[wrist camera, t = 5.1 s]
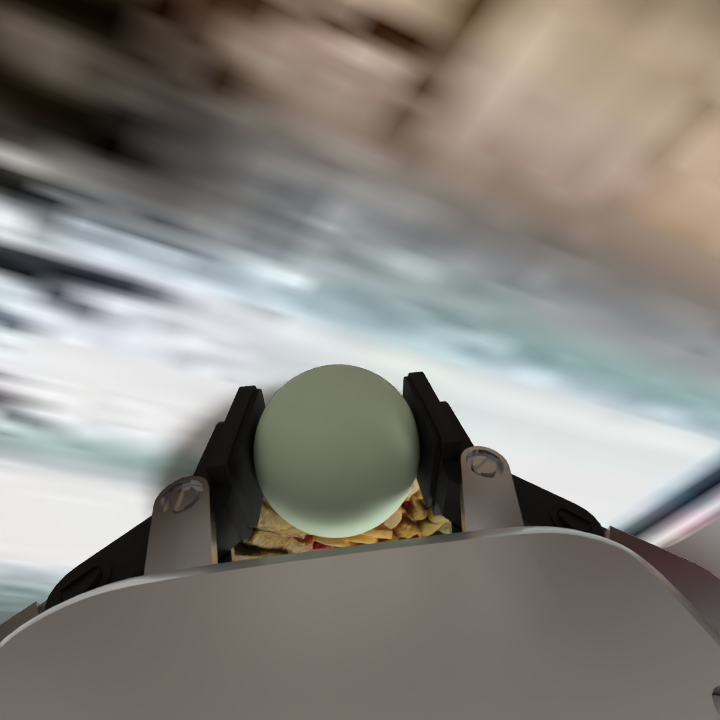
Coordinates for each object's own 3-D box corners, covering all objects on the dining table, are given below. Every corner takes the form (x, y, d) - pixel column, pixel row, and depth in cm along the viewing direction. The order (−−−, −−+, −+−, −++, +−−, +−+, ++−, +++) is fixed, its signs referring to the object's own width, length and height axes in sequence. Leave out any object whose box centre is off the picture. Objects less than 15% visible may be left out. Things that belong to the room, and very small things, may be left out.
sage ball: (402, 333, 12) (458, 430, 7) (397, 439, 14) (435, 563, 10) (256, 343, 11) (205, 456, 6) (279, 451, 14) (256, 588, 9)
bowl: (126, 523, 28) (67, 626, 22) (388, 343, 23) (420, 403, 16) (324, 617, 42) (326, 699, 35) (517, 516, 37) (564, 589, 30)
